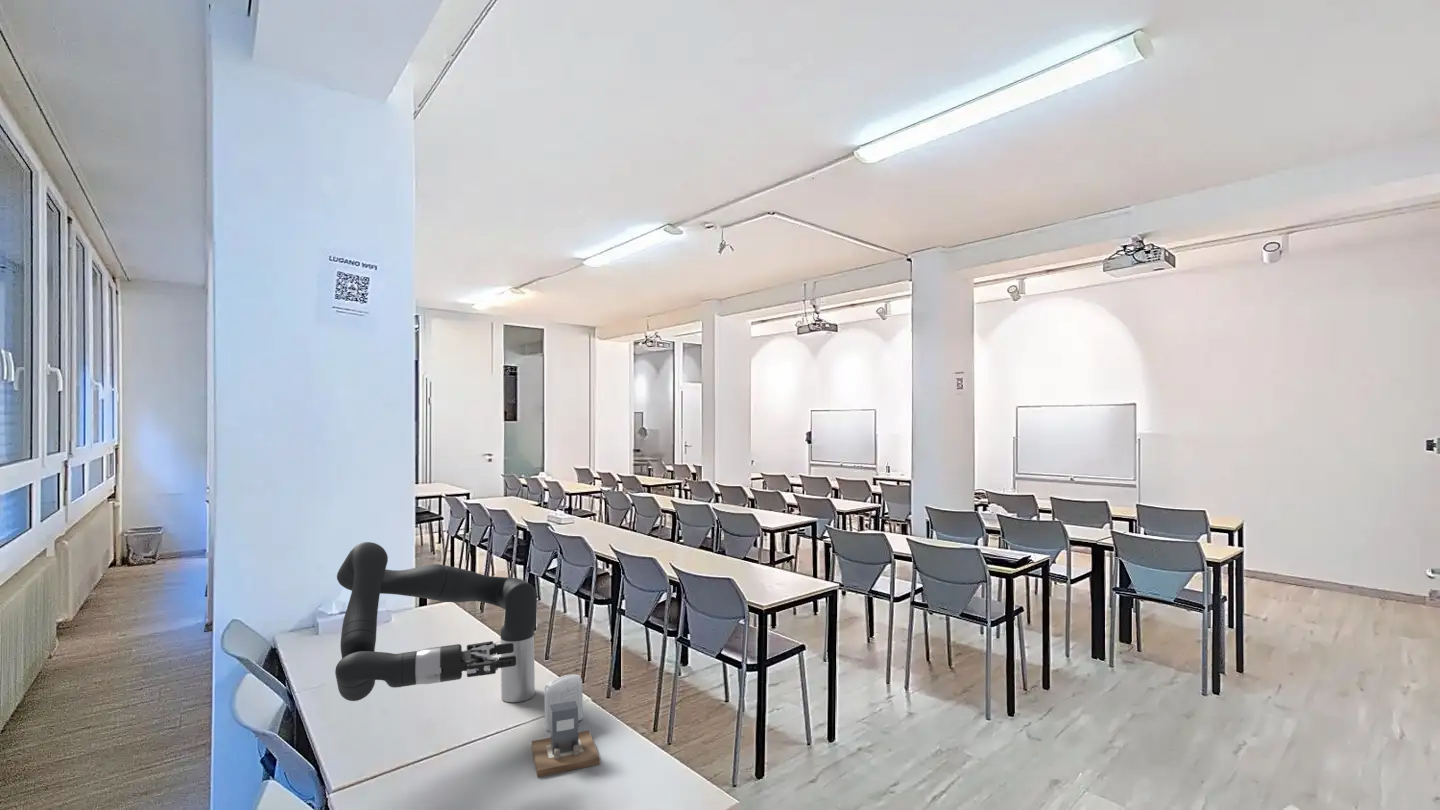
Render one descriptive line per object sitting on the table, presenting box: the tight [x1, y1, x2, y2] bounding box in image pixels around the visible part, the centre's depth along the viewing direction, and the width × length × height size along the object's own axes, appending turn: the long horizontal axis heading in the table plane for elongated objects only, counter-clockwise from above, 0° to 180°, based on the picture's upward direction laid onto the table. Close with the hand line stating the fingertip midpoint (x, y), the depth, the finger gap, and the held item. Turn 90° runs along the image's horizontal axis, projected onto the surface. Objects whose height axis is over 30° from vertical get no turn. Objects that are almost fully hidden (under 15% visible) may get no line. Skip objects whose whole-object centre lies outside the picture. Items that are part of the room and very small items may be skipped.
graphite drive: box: [549, 701, 579, 755], centre depth 157 cm, size 4×6×10 cm
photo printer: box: [544, 673, 584, 732], centre depth 173 cm, size 10×4×12 cm, turn 134°
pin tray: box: [531, 729, 601, 778], centre depth 157 cm, size 14×14×4 cm
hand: (514, 653), depth 153 cm, fingers open, 8 cm apart
